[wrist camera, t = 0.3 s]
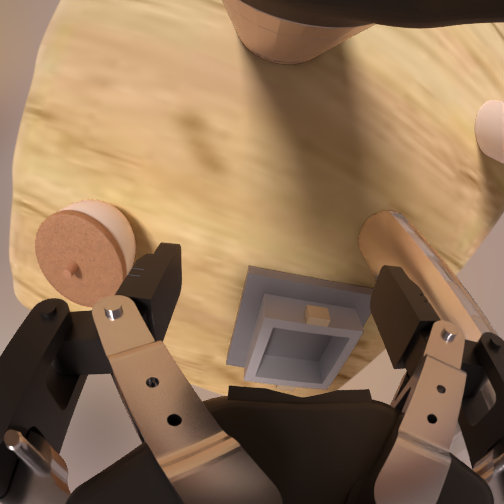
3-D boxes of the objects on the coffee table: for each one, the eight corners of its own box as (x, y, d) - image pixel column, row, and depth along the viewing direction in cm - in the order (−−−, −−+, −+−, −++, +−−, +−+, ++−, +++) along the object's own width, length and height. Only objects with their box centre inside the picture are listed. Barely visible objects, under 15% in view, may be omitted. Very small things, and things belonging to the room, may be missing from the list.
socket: (249, 265, 34) (246, 296, 30) (376, 289, 36) (389, 318, 31) (226, 356, 42) (223, 387, 38) (330, 370, 43) (335, 398, 39)
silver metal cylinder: (419, 234, 32) (540, 415, 10) (380, 270, 34) (463, 468, 13) (388, 198, 30) (536, 396, 8) (346, 239, 32) (432, 465, 11)
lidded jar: (158, 266, 35) (132, 319, 27) (86, 270, 36) (51, 316, 28) (136, 178, 30) (94, 214, 21) (60, 193, 30) (11, 228, 22)
